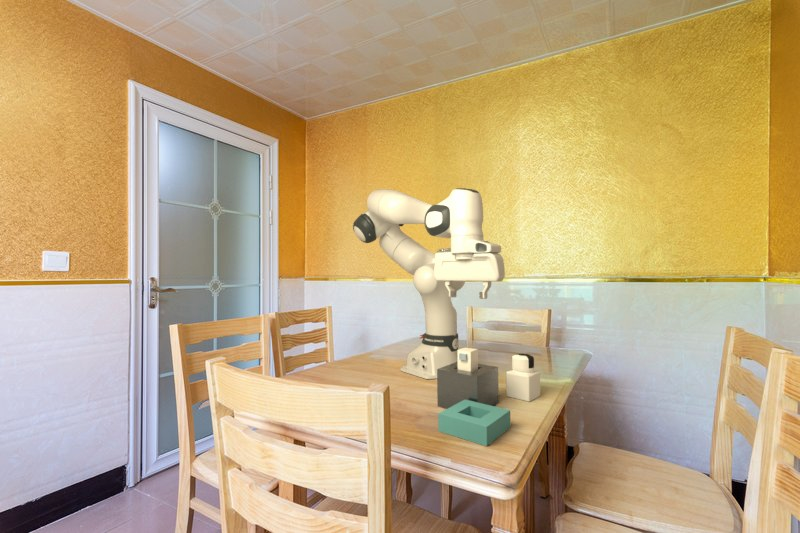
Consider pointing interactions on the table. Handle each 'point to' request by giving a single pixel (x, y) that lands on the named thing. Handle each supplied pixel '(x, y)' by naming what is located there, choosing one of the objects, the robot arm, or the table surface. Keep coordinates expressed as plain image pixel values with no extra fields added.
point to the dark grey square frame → (467, 385)
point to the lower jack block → (474, 421)
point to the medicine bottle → (523, 378)
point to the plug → (468, 359)
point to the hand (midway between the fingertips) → (467, 298)
